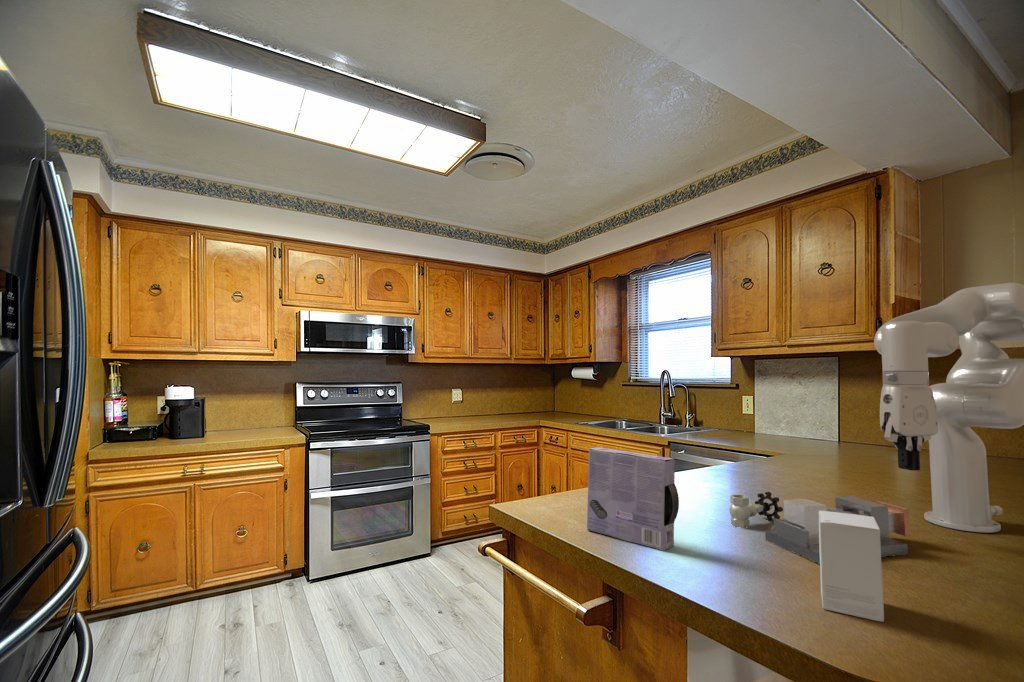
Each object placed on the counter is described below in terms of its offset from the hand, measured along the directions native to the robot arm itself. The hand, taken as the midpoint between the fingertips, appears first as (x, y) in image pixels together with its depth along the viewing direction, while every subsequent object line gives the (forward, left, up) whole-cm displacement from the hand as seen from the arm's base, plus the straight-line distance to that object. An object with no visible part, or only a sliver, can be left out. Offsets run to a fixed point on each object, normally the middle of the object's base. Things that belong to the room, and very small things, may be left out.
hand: (909, 469), depth 100 cm
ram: (+11, 0, -12) cm, 17 cm away
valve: (+25, -17, -15) cm, 33 cm away
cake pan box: (+56, -14, -15) cm, 59 cm away
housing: (+26, 0, -12) cm, 29 cm away
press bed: (+20, 0, -14) cm, 24 cm away
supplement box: (+38, +20, -14) cm, 45 cm away
